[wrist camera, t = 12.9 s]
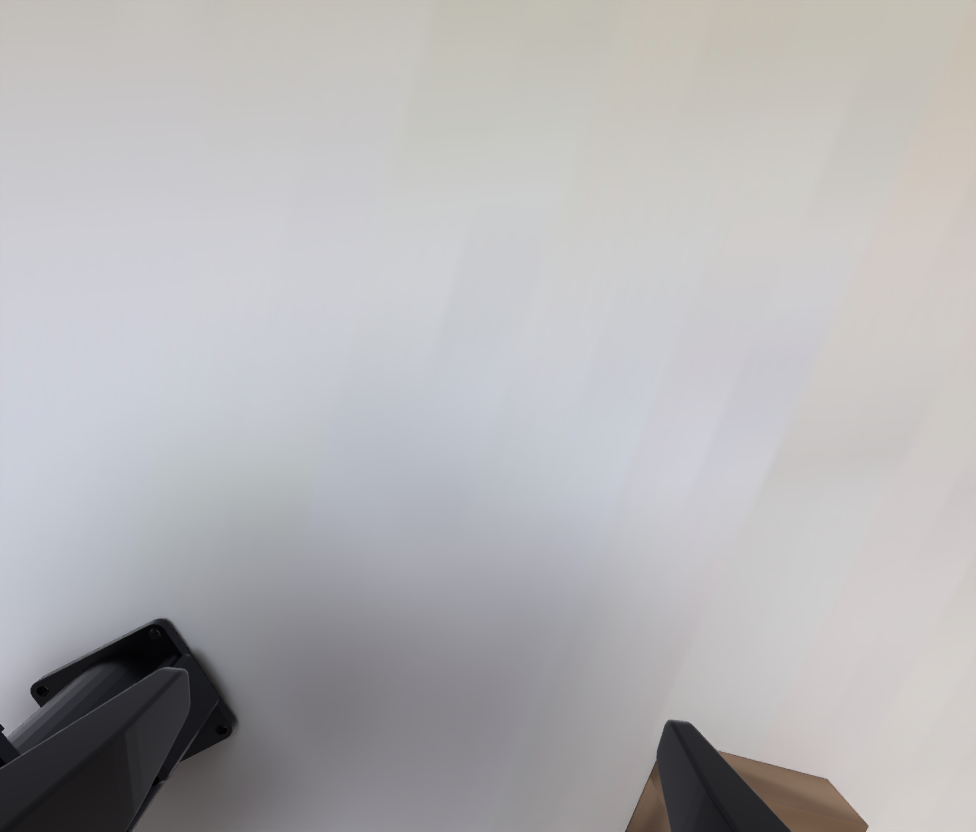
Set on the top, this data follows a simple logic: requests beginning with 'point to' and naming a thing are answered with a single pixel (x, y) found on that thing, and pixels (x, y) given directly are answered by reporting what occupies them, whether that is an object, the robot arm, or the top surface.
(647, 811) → the walnut socket block
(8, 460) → the top surface
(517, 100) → the top surface
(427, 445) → the top surface
